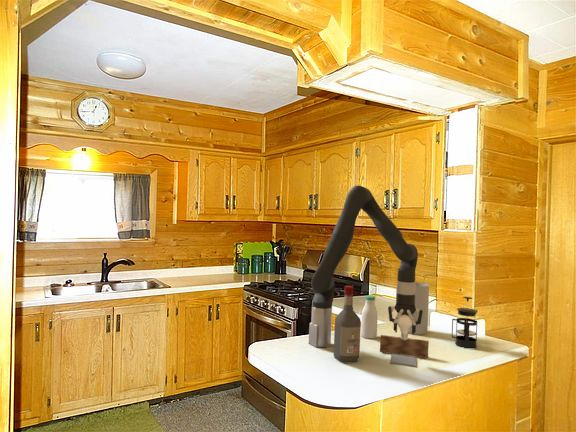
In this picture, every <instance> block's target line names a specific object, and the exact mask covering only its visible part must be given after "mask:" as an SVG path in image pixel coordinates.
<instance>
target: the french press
mask: <svg viewBox="0 0 576 432" xmlns="http://www.w3.org/2000/svg"><path fill="white" fill-rule="evenodd" d="M462 299H465V300H466V307H458V308H457V309H456V310H457V314H458V315H459V316H463V317H458V318H452V319H451V338H452V339H455V343H454V345H455V344H456V345H455V346H457V347H459V348H462V347H464V348H463V349H467V348H475V349H477V348H478V346H477V339H478V337H477V336H478V334H477V333H478V320H476V319H473V318H472V317H476V315H477V313H478V310H477V309H473V308H469V302H470V300H472V299H473V297H472V296H471V297H470V296H463V298H462ZM470 317H471V318H470ZM454 321H456V326H455V328H456V329H455V336H453V335H454V334H453V330H454ZM458 324H459V325H462V326H463V329H458ZM470 326H471V327H474V326H476V327H475V329H476V330H475V331H473V330H470ZM458 334H459V335H458ZM474 336H475V338H474ZM476 347H477V348H476Z"/></svg>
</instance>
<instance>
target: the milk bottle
mask: <svg viewBox="0 0 576 432" xmlns="http://www.w3.org/2000/svg"><path fill="white" fill-rule="evenodd" d="M375 302H376V297H375V296H374V295H365V304H364V306H363V308H362V311H361V319H360V321H361V328H360V337H362V338H363V339H369V340H370V339H373V340H374V339H377V336H378V310H377V307H376V305H375Z"/></svg>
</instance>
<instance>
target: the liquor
mask: <svg viewBox="0 0 576 432" xmlns="http://www.w3.org/2000/svg"><path fill="white" fill-rule="evenodd" d="M354 288H355V287H354V286H353V285H345V286H344V290H343V294H344V300H343V301H344V303H343V308H342V310H341V311H340V312H339V313H338V314H337V315H336V316H335V318H334V335H333V337H334V338H333V357H334V359H336V361H338V362H339V363H344V364H350V363H357V362H358V361H359V359H360V354H361V353H360V352H361V351H360V350H361V348H360V347H361V344H360V343H361V318H360V317H359V316H358V314H357V313H356V312H355V310H354V307H353V305H354V304H353V303H354Z"/></svg>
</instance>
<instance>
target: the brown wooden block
mask: <svg viewBox="0 0 576 432" xmlns="http://www.w3.org/2000/svg"><path fill="white" fill-rule="evenodd" d="M379 339H380V343H379V352H381V354H385V355H386V354H393V355H401V356H408V357H417V358H420V359H423V360H427V359H428V358H429V340H426V339H418V338H411V337H408V339H407V340H405V341H404V340H402V339H401V336H393V335H385V334H384V335H383V334H380V338H379Z"/></svg>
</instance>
